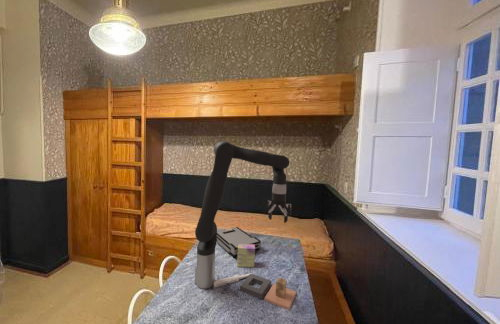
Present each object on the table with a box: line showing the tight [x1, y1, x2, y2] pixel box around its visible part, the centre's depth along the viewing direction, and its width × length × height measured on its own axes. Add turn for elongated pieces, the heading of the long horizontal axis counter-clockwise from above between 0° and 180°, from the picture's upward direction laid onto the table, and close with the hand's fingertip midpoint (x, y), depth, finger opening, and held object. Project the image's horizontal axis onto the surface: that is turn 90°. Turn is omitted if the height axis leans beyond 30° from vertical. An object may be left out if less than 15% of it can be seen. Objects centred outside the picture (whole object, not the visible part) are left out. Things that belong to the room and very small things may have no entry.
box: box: [236, 244, 256, 268], centre depth 128 cm, size 10×6×12 cm, turn 92°
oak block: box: [275, 277, 287, 299], centre depth 102 cm, size 4×4×7 cm
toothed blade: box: [213, 272, 253, 288], centre depth 112 cm, size 3×4×22 cm
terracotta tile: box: [263, 283, 297, 311], centre depth 102 cm, size 12×12×1 cm
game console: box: [216, 226, 262, 259], centre depth 152 cm, size 21×32×8 cm, turn 34°
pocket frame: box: [239, 273, 272, 300], centre depth 108 cm, size 12×12×2 cm
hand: (277, 220), depth 115 cm, fingers open, 8 cm apart
